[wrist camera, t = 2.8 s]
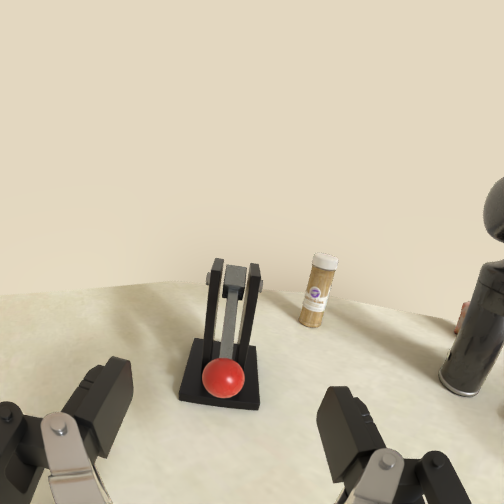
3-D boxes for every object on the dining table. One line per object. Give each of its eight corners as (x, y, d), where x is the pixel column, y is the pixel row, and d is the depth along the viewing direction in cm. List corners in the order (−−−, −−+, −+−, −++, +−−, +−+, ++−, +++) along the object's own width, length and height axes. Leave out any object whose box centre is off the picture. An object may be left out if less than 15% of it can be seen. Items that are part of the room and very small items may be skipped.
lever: (240, 404, 22) (245, 393, 19) (199, 399, 21) (199, 387, 19) (249, 285, 32) (254, 264, 30) (218, 281, 32) (220, 259, 30)
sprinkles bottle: (296, 325, 50) (313, 255, 46) (299, 315, 54) (314, 250, 51) (320, 330, 49) (339, 261, 45) (321, 320, 53) (338, 255, 50)
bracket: (258, 410, 27) (286, 294, 24) (178, 400, 27) (183, 280, 23) (254, 352, 39) (272, 257, 35) (193, 344, 38) (202, 247, 35)
